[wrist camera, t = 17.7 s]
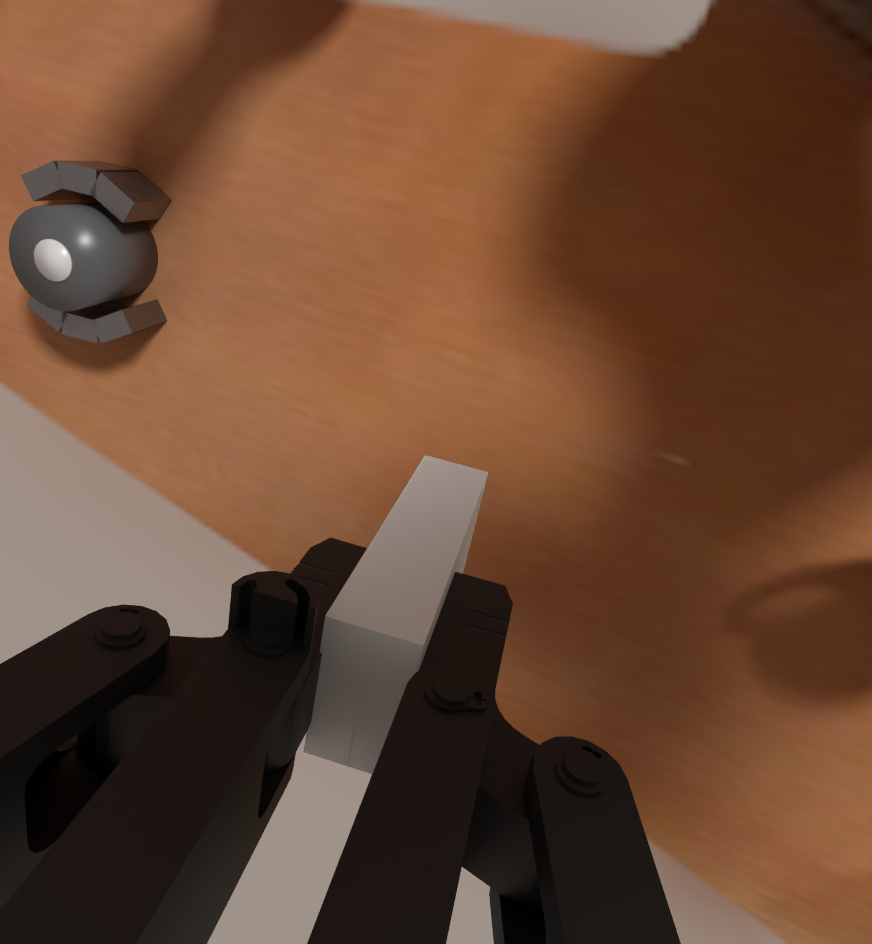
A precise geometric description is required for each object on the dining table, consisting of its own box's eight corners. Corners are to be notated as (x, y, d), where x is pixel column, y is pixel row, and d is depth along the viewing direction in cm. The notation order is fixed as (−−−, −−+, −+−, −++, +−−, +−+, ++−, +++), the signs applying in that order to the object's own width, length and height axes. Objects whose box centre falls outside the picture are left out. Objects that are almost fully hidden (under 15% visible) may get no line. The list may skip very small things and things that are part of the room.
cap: (74, 193, 47) (3, 196, 41) (159, 212, 46) (98, 218, 40) (76, 284, 49) (9, 299, 44) (156, 304, 49) (98, 322, 43)
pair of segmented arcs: (65, 153, 46) (19, 151, 42) (172, 178, 45) (134, 178, 41) (69, 314, 50) (28, 325, 47) (166, 339, 49) (131, 353, 46)
